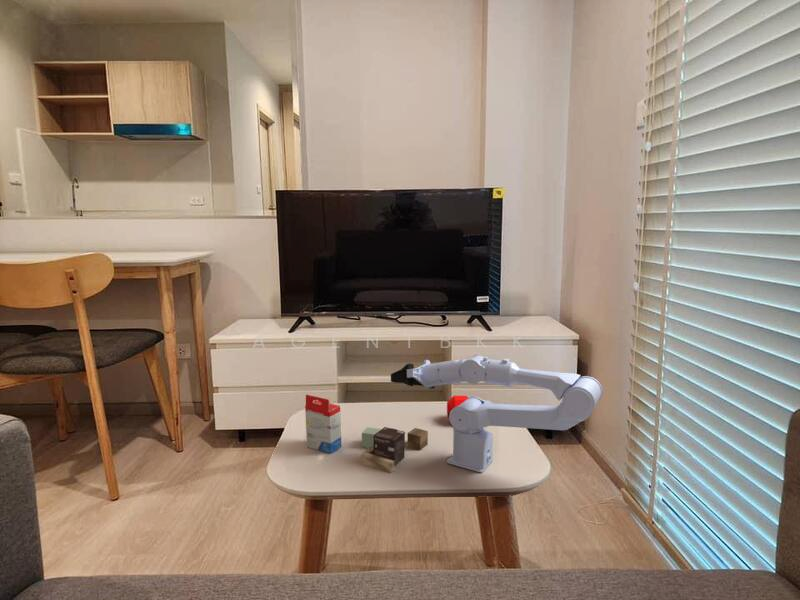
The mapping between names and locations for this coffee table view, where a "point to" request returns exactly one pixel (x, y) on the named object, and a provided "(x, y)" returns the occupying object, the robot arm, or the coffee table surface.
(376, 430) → the block
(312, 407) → the ink box
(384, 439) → the box
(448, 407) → the red faceted polyhedron
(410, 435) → the walnut cube
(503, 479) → the coffee table surface
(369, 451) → the corner jig
